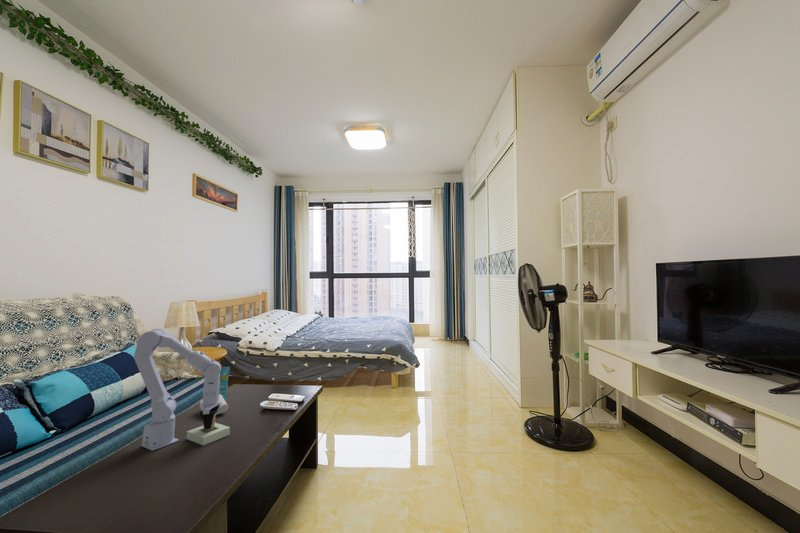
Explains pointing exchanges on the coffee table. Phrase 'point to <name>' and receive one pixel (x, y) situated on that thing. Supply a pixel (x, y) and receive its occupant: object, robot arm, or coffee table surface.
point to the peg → (211, 426)
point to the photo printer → (222, 407)
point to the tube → (224, 381)
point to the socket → (208, 434)
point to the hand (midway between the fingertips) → (209, 426)
